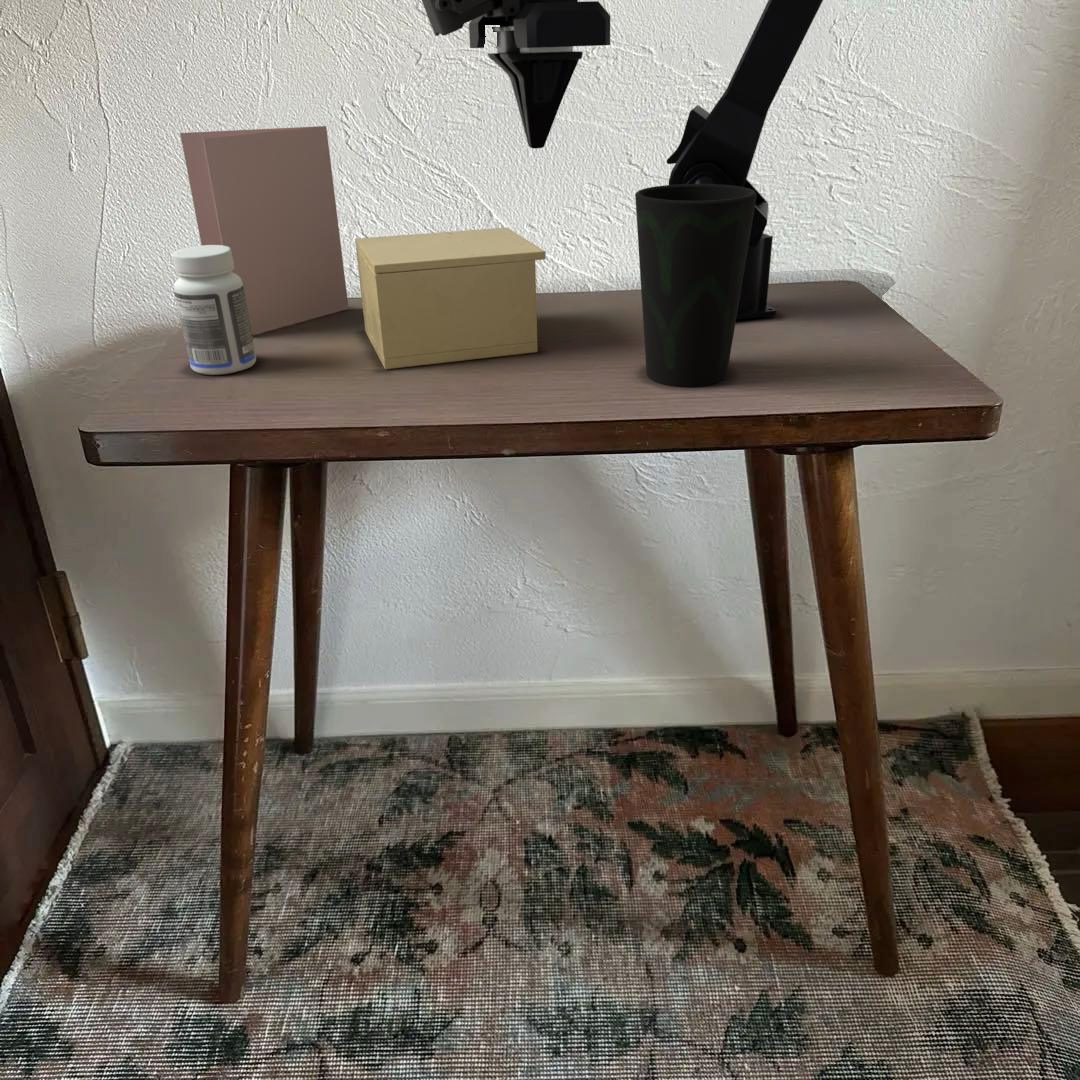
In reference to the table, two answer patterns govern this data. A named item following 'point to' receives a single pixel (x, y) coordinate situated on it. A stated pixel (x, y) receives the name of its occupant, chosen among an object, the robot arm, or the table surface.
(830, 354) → the table surface
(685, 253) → the cup
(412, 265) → the lid
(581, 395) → the table surface
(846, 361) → the table surface
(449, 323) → the pale yellow box
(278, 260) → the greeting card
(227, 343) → the pill bottle
